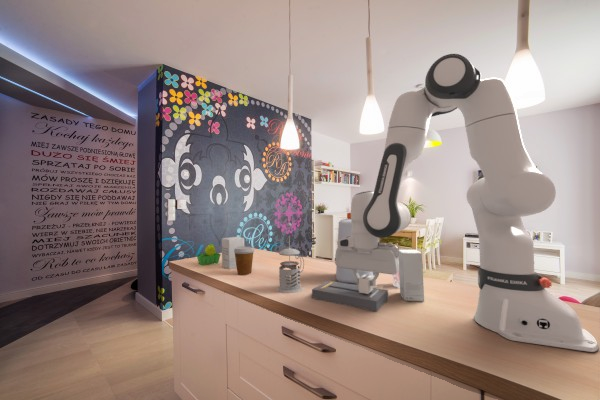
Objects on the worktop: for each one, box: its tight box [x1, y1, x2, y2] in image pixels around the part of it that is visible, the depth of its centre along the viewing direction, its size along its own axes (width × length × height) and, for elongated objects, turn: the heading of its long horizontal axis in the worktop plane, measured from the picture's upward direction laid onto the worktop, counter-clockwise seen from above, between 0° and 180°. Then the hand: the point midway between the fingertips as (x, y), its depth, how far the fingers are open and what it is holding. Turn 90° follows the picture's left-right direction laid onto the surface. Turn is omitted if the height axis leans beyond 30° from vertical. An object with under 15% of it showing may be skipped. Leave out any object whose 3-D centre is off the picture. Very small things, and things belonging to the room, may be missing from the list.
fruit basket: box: [196, 243, 222, 266], centre depth 146 cm, size 11×9×11 cm
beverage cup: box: [392, 248, 401, 289], centre depth 102 cm, size 6×6×14 cm
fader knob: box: [358, 275, 374, 294], centre depth 85 cm, size 3×5×5 cm, turn 147°
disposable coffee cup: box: [234, 245, 255, 276], centre depth 124 cm, size 10×10×12 cm
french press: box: [276, 222, 305, 294], centre depth 101 cm, size 10×12×25 cm
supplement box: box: [221, 236, 245, 270], centre depth 138 cm, size 9×9×15 cm
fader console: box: [311, 280, 389, 313], centre depth 89 cm, size 22×12×3 cm, turn 57°
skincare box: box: [397, 249, 425, 302], centre depth 89 cm, size 8×7×16 cm
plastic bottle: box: [335, 212, 375, 285], centre depth 112 cm, size 15×15×28 cm
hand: (365, 284), depth 85 cm, fingers closed on fader knob, 3 cm apart
